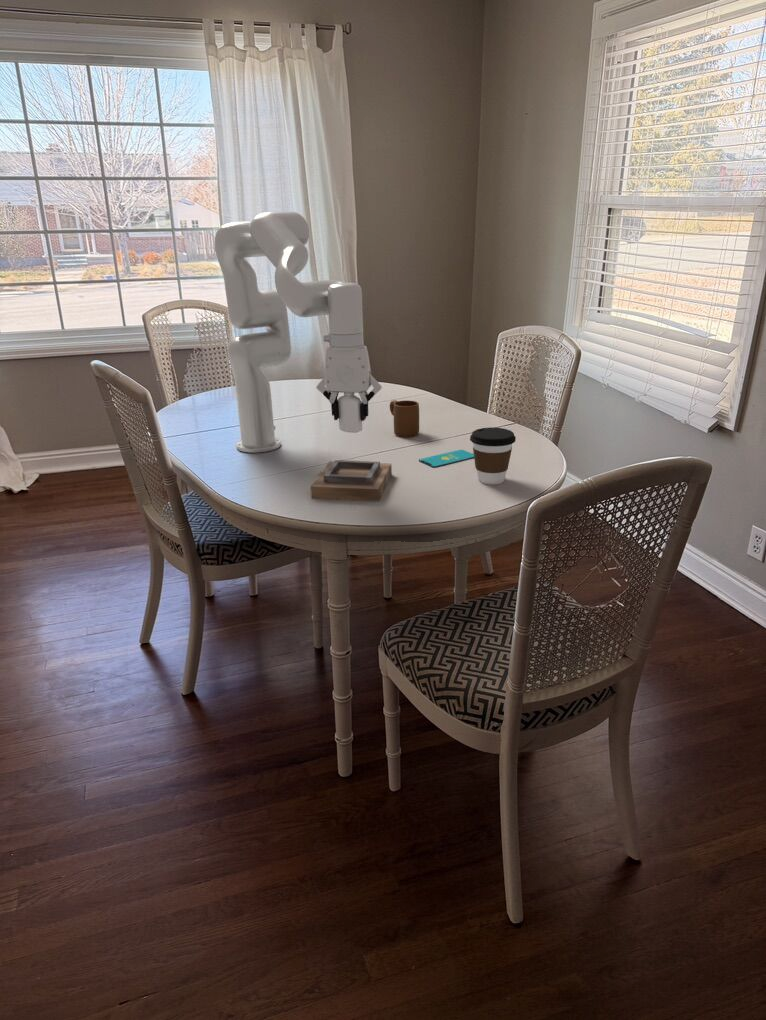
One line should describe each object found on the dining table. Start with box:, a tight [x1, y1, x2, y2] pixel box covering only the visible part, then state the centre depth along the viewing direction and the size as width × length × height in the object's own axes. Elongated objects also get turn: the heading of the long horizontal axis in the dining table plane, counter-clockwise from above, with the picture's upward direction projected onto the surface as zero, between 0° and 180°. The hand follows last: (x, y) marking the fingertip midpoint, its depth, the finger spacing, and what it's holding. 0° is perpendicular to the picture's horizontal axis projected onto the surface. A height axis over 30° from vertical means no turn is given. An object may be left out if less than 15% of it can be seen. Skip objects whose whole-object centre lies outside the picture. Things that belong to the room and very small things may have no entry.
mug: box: [389, 399, 420, 438], centre depth 211 cm, size 12×8×9 cm, turn 34°
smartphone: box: [418, 449, 474, 469], centre depth 189 cm, size 7×1×15 cm
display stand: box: [310, 459, 393, 502], centre depth 171 cm, size 18×16×4 cm
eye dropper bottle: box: [337, 393, 363, 434], centre depth 164 cm, size 4×6×12 cm
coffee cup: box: [469, 426, 517, 485], centre depth 171 cm, size 11×11×12 cm
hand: (350, 418), depth 165 cm, fingers closed on eye dropper bottle, 5 cm apart
